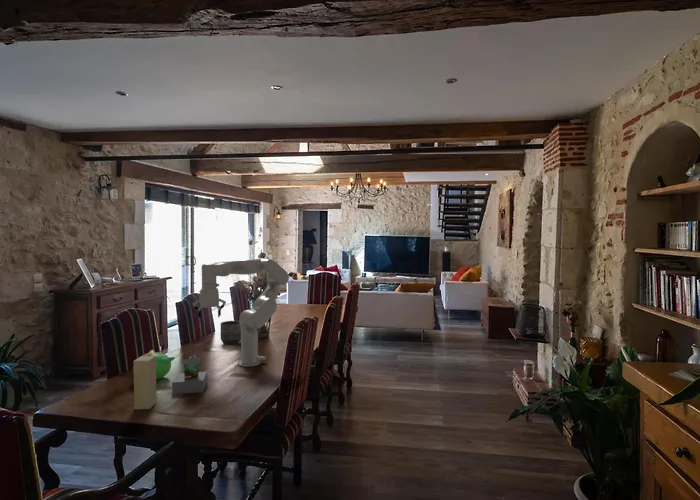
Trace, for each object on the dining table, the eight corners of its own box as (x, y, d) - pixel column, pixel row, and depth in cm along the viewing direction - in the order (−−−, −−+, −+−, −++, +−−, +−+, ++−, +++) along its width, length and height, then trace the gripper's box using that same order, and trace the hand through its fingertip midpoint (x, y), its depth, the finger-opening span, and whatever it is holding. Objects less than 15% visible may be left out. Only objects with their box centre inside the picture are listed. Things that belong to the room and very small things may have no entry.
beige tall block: (139, 402, 191) (139, 355, 191) (156, 402, 192) (156, 355, 191) (132, 409, 183) (131, 361, 183) (149, 409, 184) (149, 360, 183)
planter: (232, 340, 309) (232, 319, 309) (246, 343, 301) (245, 322, 300) (216, 344, 298) (216, 323, 297) (229, 347, 289) (229, 325, 289)
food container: (196, 380, 205) (196, 359, 204) (183, 380, 204) (183, 359, 204) (203, 372, 217) (203, 352, 217) (191, 372, 217) (191, 352, 216)
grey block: (207, 383, 219) (207, 371, 218) (203, 393, 205) (203, 380, 205) (177, 385, 216) (177, 373, 216) (172, 395, 202) (172, 382, 202)
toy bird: (164, 372, 235) (164, 345, 234) (177, 379, 223) (176, 351, 222) (128, 380, 222) (128, 351, 222) (140, 388, 210) (140, 358, 210)
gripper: (225, 285, 240) (225, 315, 240) (192, 286, 234) (192, 317, 235) (226, 286, 233) (226, 317, 233) (192, 287, 227) (192, 319, 228)
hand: (209, 317), depth 234 cm, fingers open, 9 cm apart
